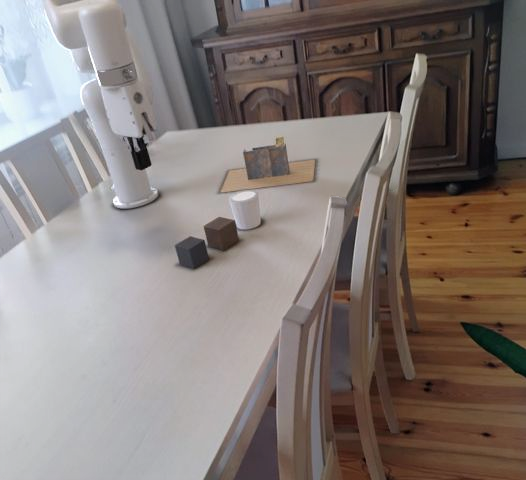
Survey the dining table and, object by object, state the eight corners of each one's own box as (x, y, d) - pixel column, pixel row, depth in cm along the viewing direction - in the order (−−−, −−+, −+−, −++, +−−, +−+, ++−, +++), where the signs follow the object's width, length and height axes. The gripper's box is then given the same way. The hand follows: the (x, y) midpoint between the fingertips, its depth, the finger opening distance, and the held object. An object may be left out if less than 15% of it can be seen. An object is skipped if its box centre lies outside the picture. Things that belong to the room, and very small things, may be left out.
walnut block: (208, 246, 127) (203, 225, 124) (223, 236, 130) (219, 216, 127) (223, 250, 124) (219, 229, 121) (239, 240, 127) (235, 220, 124)
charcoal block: (179, 264, 123) (174, 245, 120) (195, 255, 125) (190, 235, 122) (194, 269, 120) (188, 249, 117) (209, 259, 122) (204, 239, 120)
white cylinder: (260, 229, 130) (254, 200, 126) (231, 231, 132) (225, 203, 128) (266, 216, 135) (261, 188, 131) (238, 218, 137) (232, 190, 133)
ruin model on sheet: (315, 159, 161) (311, 124, 156) (313, 181, 148) (308, 143, 143) (229, 170, 166) (222, 136, 160) (220, 192, 153) (212, 156, 147)
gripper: (156, 71, 108) (179, 165, 120) (109, 69, 117) (135, 157, 128) (125, 82, 104) (153, 179, 116) (80, 80, 113) (109, 170, 124)
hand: (143, 167), depth 122 cm, fingers closed
